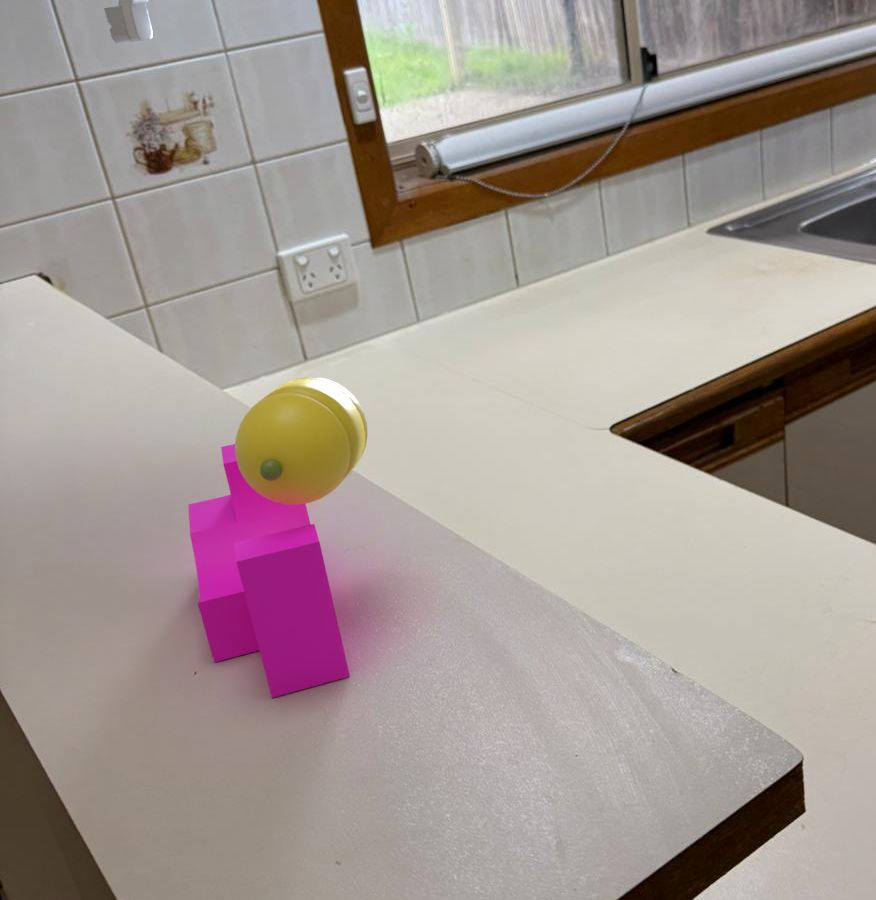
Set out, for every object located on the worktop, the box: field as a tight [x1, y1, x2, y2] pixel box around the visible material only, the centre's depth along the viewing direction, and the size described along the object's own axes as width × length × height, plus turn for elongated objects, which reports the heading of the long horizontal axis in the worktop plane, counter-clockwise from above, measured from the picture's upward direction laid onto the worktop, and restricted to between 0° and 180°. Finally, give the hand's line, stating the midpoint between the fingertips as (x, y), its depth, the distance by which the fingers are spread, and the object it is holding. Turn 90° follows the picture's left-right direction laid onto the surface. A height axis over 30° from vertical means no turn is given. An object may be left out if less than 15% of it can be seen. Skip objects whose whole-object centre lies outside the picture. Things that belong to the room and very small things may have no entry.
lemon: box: [234, 376, 368, 505], centre depth 57 cm, size 10×6×6 cm
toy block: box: [187, 443, 350, 699], centre depth 60 cm, size 15×6×8 cm, turn 20°
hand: (51, 50), depth 61 cm, fingers open, 8 cm apart
